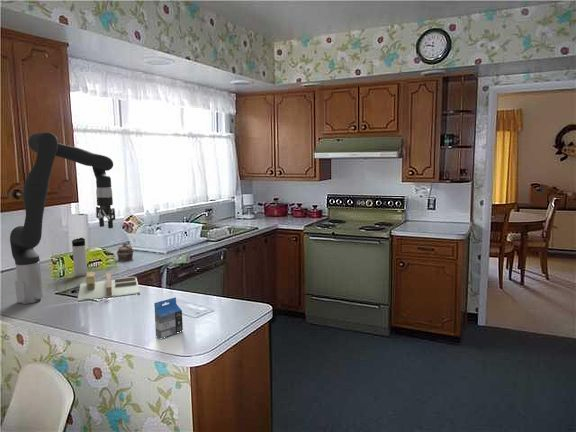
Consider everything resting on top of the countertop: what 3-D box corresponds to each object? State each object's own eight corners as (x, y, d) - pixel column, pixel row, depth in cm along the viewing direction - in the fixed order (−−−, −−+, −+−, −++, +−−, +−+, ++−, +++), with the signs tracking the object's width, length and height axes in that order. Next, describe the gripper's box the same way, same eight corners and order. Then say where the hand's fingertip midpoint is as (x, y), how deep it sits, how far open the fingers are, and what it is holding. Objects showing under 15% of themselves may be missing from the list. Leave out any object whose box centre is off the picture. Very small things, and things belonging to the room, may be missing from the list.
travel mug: (90, 274, 236) (87, 237, 233) (83, 277, 229) (80, 240, 226) (79, 274, 237) (76, 237, 234) (72, 277, 230) (69, 240, 227)
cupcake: (117, 258, 271) (116, 242, 269) (134, 257, 274) (133, 241, 272) (116, 262, 262) (115, 245, 260) (133, 260, 265) (132, 244, 263)
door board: (140, 294, 202) (139, 283, 201) (77, 302, 192) (76, 291, 191) (136, 279, 226) (135, 269, 225) (80, 285, 216) (79, 275, 215)
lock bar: (95, 288, 208) (94, 276, 207) (86, 289, 207) (85, 277, 206) (95, 283, 216) (94, 271, 215) (87, 284, 215) (86, 272, 214)
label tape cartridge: (161, 339, 153) (159, 305, 151) (155, 336, 155) (153, 303, 154) (183, 332, 159) (181, 299, 157) (177, 329, 162) (175, 297, 160)
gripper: (90, 195, 226) (92, 227, 228) (104, 197, 217) (106, 229, 219) (104, 194, 232) (105, 225, 234) (118, 196, 223) (120, 227, 225)
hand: (106, 227), depth 226 cm, fingers open, 8 cm apart
